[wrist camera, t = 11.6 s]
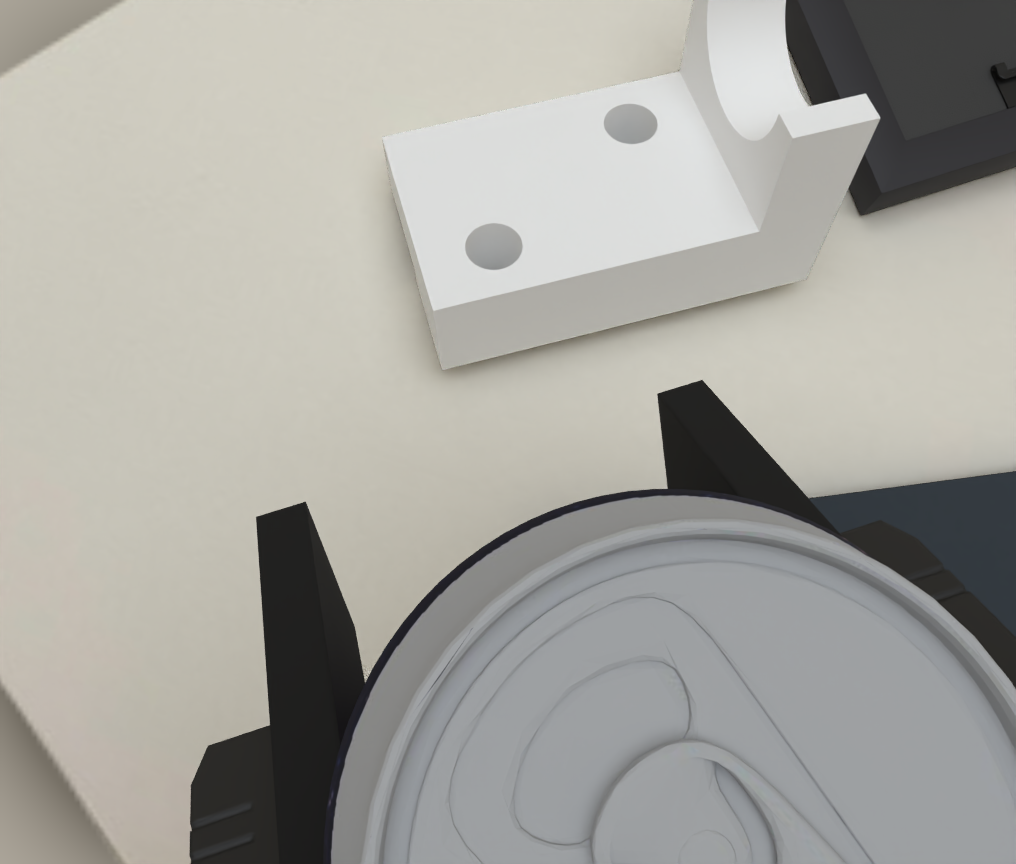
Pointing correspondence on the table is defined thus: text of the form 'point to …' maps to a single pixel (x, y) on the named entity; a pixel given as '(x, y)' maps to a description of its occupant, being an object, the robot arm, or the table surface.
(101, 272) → the table surface
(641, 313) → the bracket
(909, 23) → the picture frame
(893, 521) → the desk pad
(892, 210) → the table surface
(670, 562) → the beverage can
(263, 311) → the table surface
